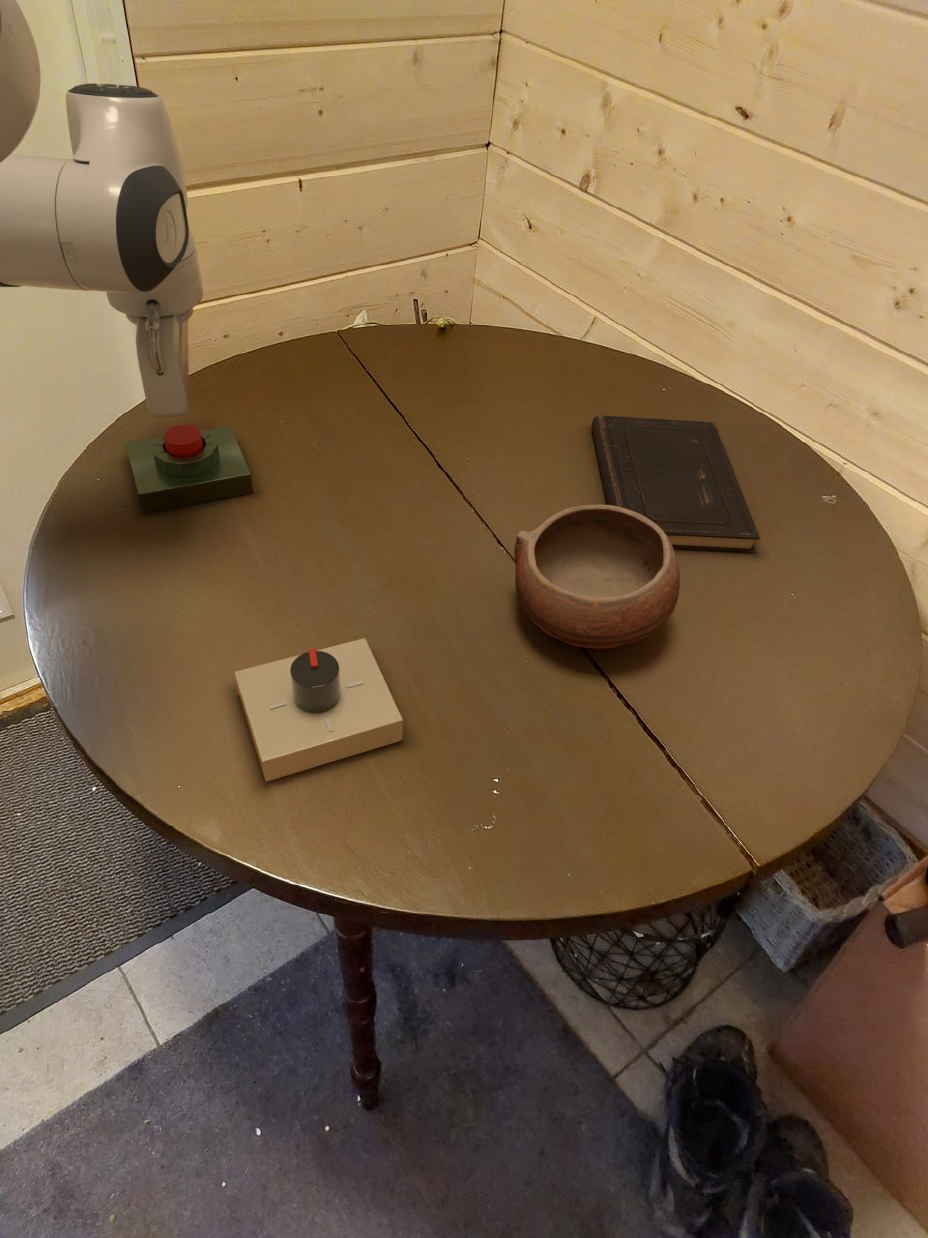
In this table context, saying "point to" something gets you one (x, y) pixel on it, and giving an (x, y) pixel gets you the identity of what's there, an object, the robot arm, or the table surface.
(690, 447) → the old dark book
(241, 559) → the table surface
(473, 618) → the table surface
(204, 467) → the button box
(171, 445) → the red push button
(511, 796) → the table surface
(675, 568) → the bowl
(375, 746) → the hob panel
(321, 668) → the hob knob
